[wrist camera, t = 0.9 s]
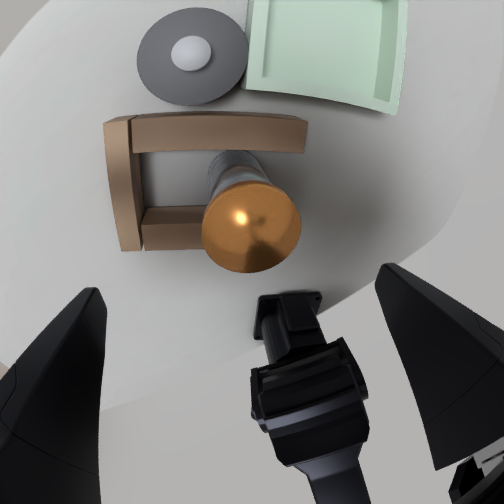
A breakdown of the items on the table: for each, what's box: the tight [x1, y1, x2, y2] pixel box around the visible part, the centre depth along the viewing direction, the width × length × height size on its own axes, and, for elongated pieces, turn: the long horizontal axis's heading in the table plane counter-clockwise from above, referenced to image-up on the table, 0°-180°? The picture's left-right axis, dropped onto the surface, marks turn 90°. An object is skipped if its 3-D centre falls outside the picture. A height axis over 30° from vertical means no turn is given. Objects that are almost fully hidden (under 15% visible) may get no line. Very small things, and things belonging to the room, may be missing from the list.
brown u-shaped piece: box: [103, 111, 308, 251], centre depth 17 cm, size 9×12×2 cm
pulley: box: [137, 8, 248, 105], centre depth 12 cm, size 6×6×3 cm
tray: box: [240, 0, 408, 116], centre depth 12 cm, size 10×10×3 cm
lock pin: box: [202, 150, 301, 273], centre depth 15 cm, size 4×4×8 cm
